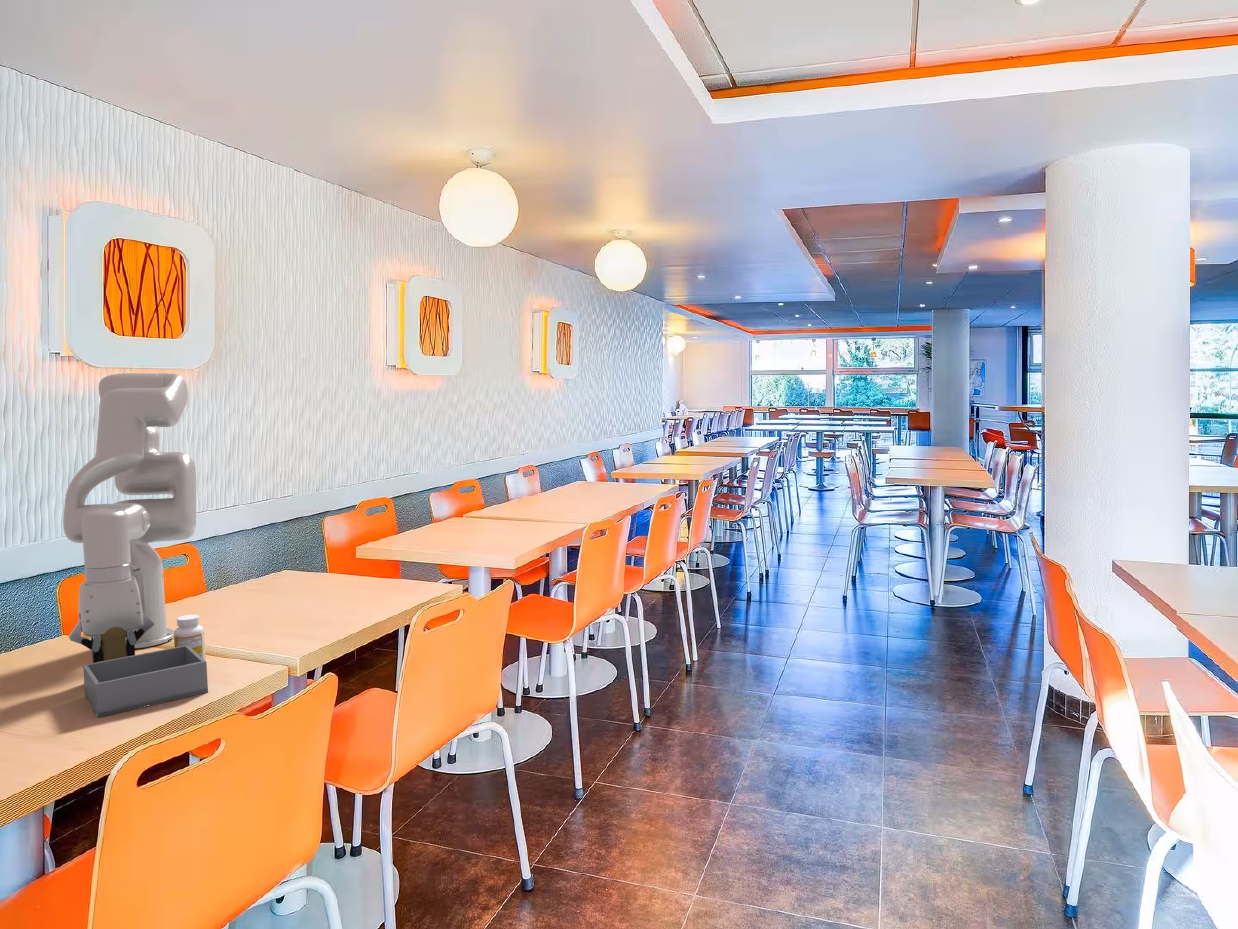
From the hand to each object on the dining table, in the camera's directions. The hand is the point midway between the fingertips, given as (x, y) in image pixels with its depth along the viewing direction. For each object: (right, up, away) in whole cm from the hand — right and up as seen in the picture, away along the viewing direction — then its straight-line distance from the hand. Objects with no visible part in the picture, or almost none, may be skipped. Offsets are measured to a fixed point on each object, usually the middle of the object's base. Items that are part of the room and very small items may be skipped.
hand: (114, 666), depth 156 cm
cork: (0, -3, 0) cm, 2 cm away
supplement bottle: (+10, -2, +8) cm, 13 cm away
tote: (+11, -3, -9) cm, 14 cm away
